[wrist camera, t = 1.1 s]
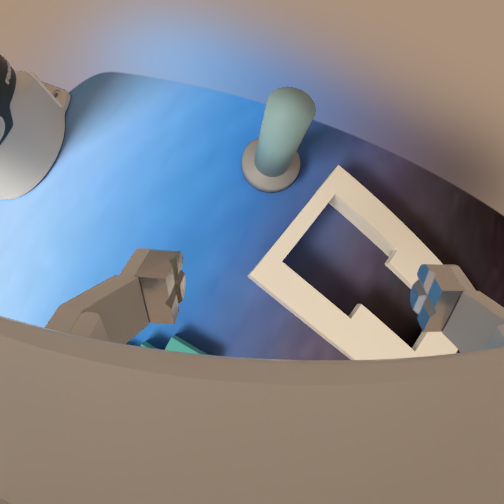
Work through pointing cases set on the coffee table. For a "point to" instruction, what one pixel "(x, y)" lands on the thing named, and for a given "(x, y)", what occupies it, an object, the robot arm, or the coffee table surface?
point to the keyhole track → (360, 319)
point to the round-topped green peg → (278, 141)
